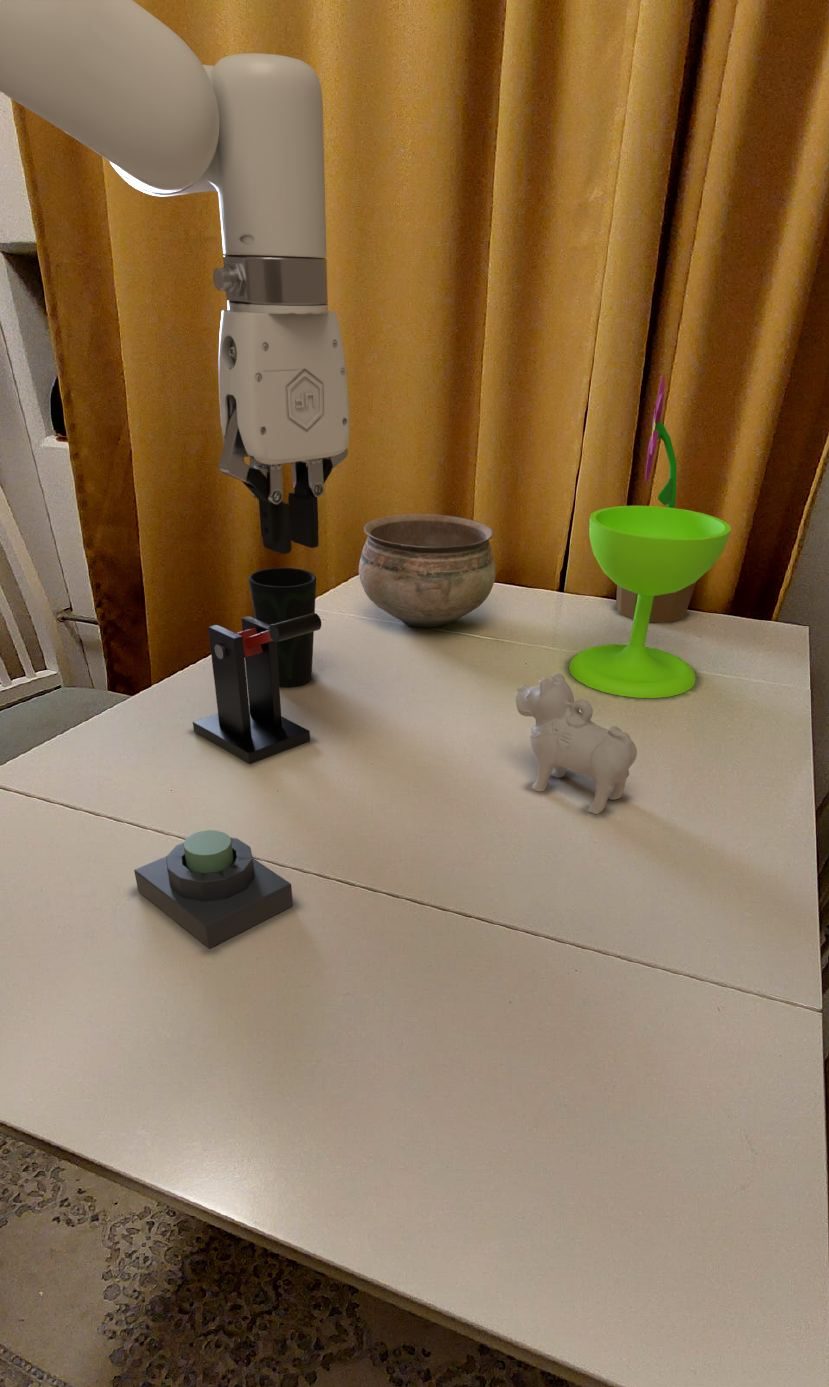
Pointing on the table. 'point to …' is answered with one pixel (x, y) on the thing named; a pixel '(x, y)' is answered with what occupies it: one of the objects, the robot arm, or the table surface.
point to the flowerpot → (677, 602)
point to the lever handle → (279, 632)
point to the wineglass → (647, 591)
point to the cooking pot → (427, 567)
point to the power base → (214, 893)
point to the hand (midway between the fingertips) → (291, 545)
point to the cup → (287, 617)
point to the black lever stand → (238, 721)
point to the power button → (208, 851)
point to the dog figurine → (574, 740)
